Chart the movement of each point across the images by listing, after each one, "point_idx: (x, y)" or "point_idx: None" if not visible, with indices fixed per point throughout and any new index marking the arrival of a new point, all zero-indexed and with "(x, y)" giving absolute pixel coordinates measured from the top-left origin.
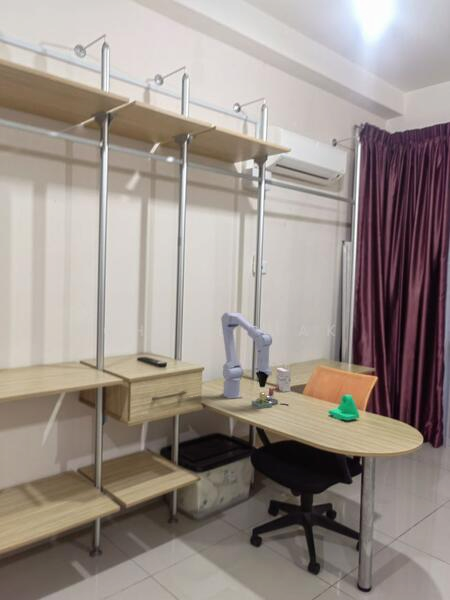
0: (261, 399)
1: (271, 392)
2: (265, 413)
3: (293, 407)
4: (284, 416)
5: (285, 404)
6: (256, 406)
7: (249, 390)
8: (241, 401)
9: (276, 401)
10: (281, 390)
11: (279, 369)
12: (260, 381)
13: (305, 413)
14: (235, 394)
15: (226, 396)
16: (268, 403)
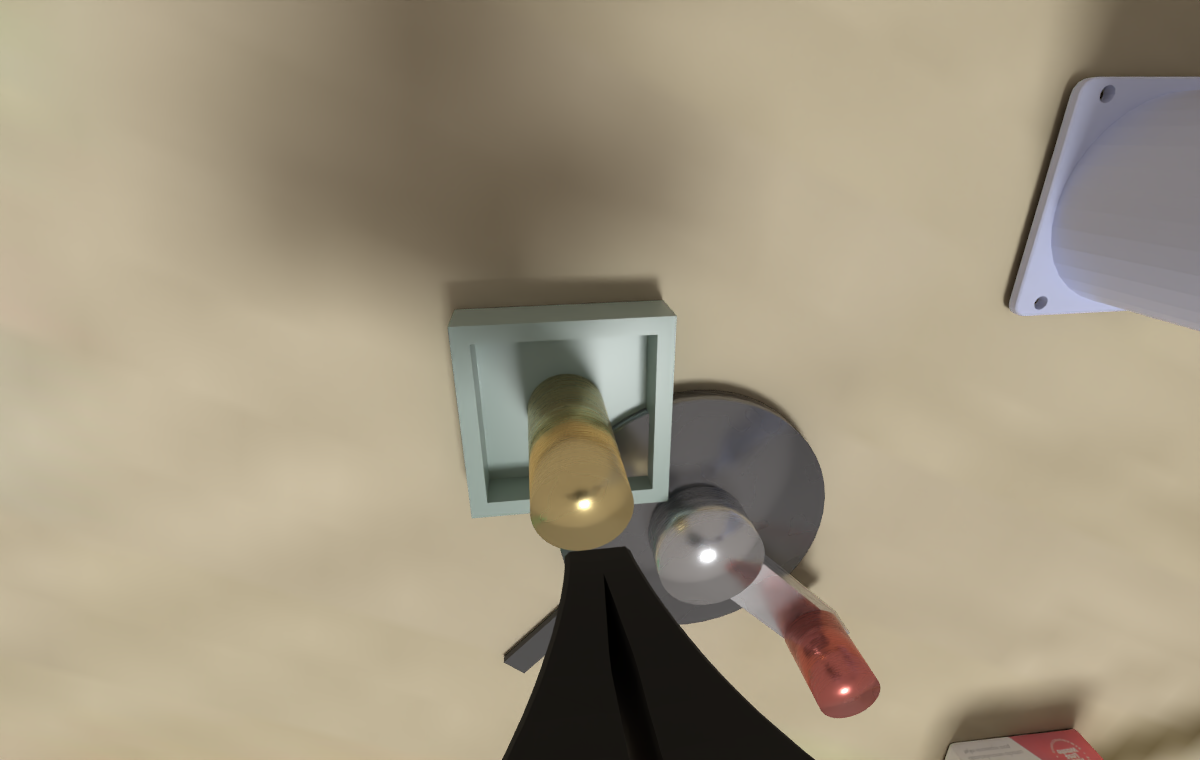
0: (541, 428)
1: (801, 651)
2: (186, 305)
3: (420, 678)
4: (26, 484)
5: (525, 645)
6: (519, 310)
7: (1189, 503)
8: (864, 223)
9: None
10: (980, 746)
11: None
12: (556, 655)
13: (170, 709)
14: (1091, 213)
15: (1162, 80)
16: (477, 478)
